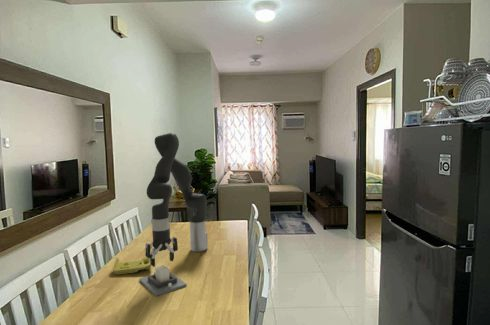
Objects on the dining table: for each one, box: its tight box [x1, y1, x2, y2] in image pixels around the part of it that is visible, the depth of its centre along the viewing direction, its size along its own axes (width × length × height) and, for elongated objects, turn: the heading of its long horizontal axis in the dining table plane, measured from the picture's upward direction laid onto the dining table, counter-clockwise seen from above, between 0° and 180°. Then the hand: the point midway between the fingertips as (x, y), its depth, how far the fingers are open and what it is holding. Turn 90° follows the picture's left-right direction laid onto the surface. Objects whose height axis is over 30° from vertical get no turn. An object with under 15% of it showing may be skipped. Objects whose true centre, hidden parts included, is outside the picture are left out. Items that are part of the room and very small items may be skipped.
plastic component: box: [112, 256, 156, 275], centre depth 151 cm, size 20×7×10 cm
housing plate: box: [138, 271, 187, 297], centre depth 135 cm, size 14×19×3 cm
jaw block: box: [154, 264, 170, 283], centre depth 135 cm, size 4×6×6 cm, turn 39°
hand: (162, 263), depth 135 cm, fingers open, 8 cm apart
